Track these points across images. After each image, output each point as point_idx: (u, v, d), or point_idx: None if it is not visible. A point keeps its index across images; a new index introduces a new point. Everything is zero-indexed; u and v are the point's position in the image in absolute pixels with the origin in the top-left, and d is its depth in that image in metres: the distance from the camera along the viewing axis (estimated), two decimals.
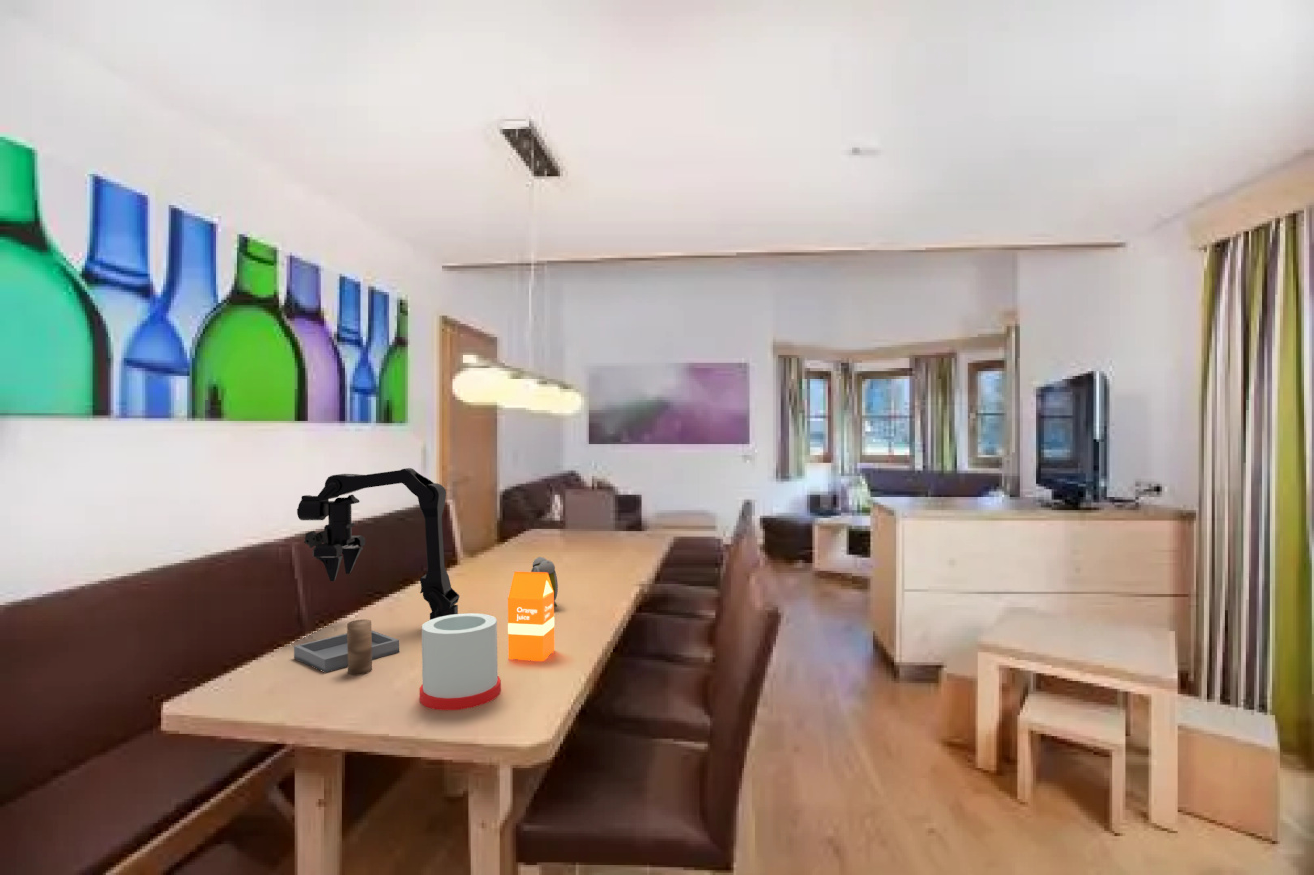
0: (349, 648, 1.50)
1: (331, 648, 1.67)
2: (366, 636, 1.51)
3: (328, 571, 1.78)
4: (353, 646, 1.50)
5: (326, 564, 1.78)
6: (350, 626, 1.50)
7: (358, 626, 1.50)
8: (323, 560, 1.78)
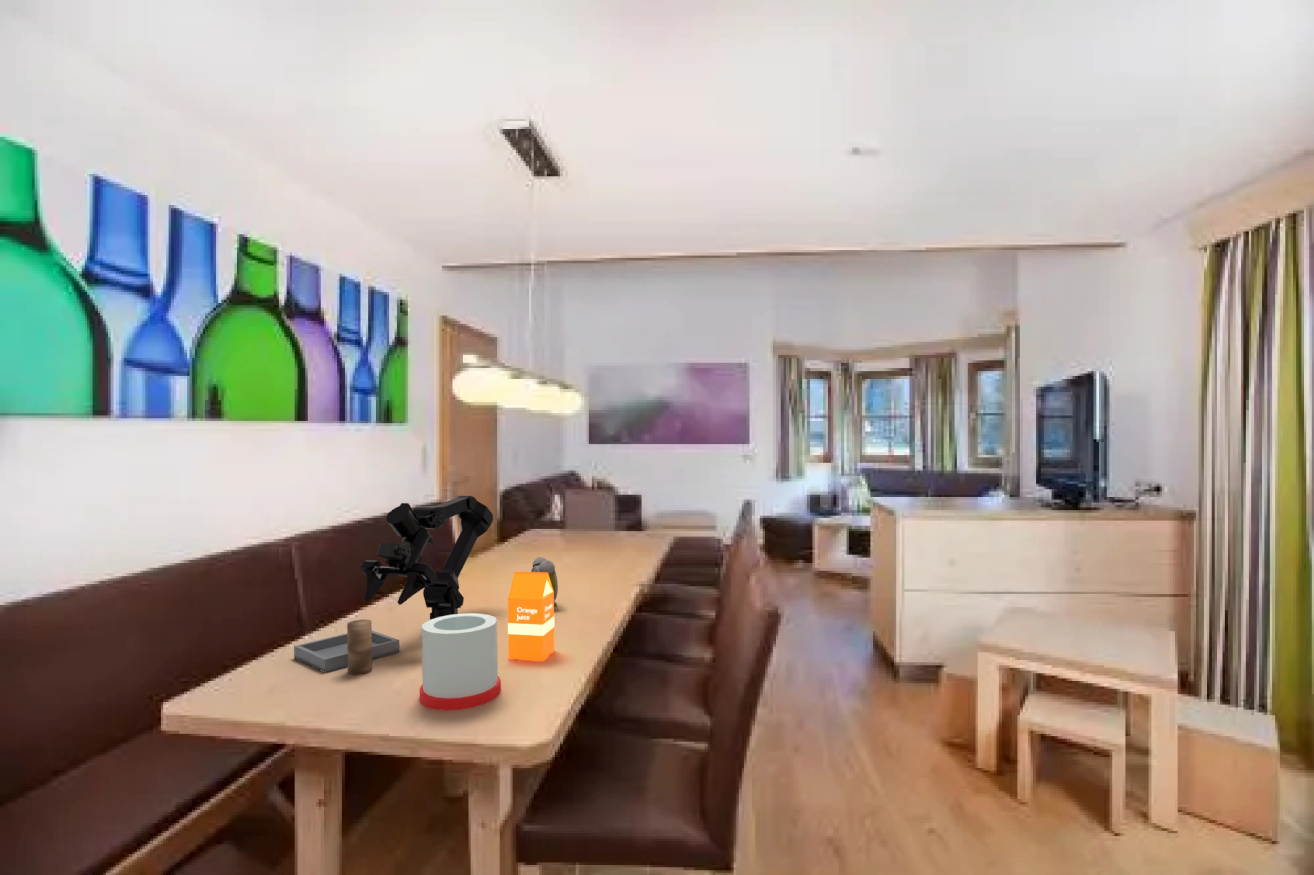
0: (349, 648, 1.50)
1: (331, 648, 1.67)
2: (366, 636, 1.51)
3: (406, 592, 1.60)
4: (353, 646, 1.50)
5: (411, 584, 1.61)
6: (350, 626, 1.50)
7: (358, 626, 1.50)
8: (414, 579, 1.61)
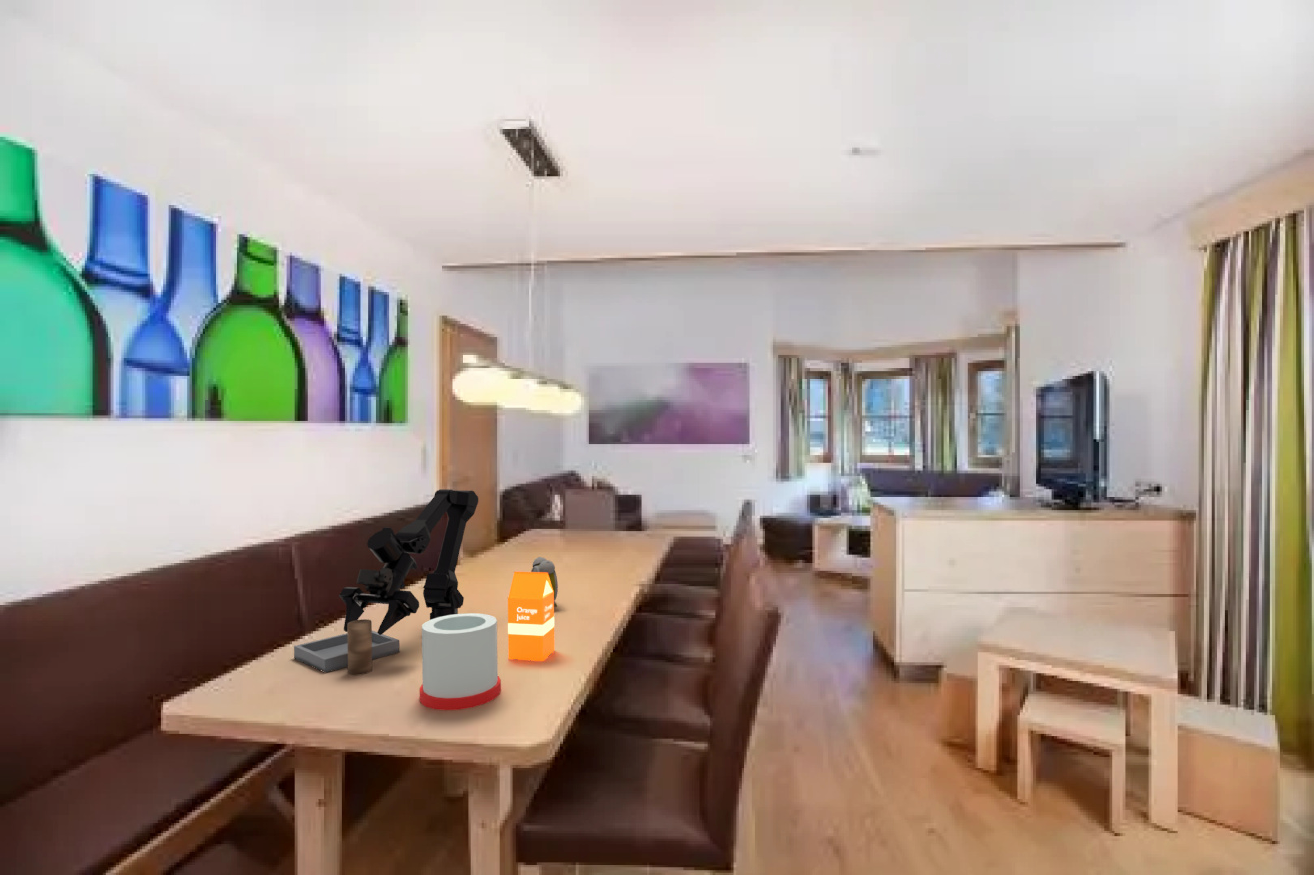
0: (349, 648, 1.50)
1: (331, 648, 1.67)
2: (366, 636, 1.51)
3: (387, 621, 1.53)
4: (353, 646, 1.50)
5: (392, 613, 1.54)
6: (350, 626, 1.50)
7: (358, 626, 1.50)
8: (395, 608, 1.54)
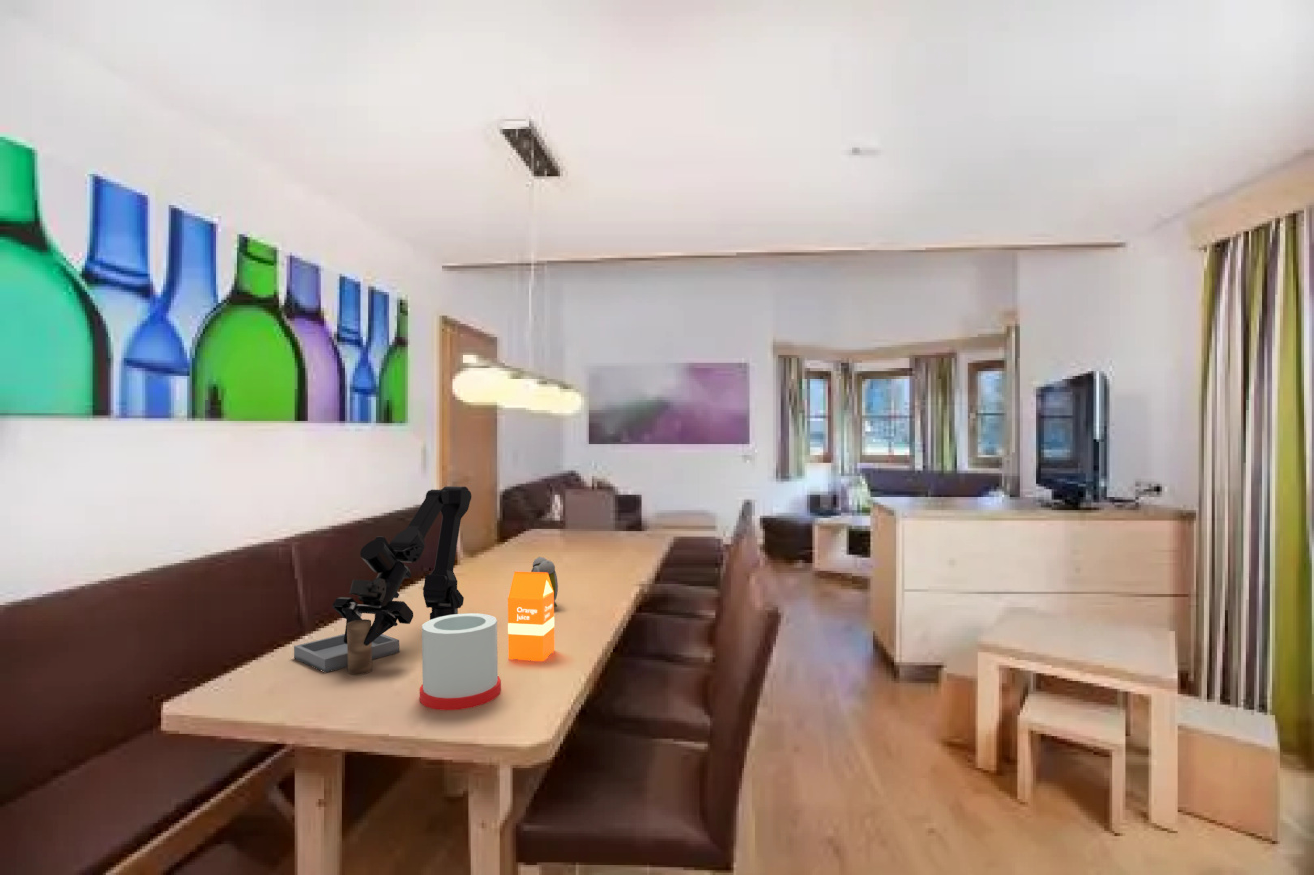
0: (349, 648, 1.50)
1: (331, 648, 1.67)
2: None
3: (373, 632, 1.52)
4: (353, 646, 1.50)
5: (378, 624, 1.53)
6: (350, 626, 1.50)
7: (358, 626, 1.50)
8: (381, 618, 1.53)
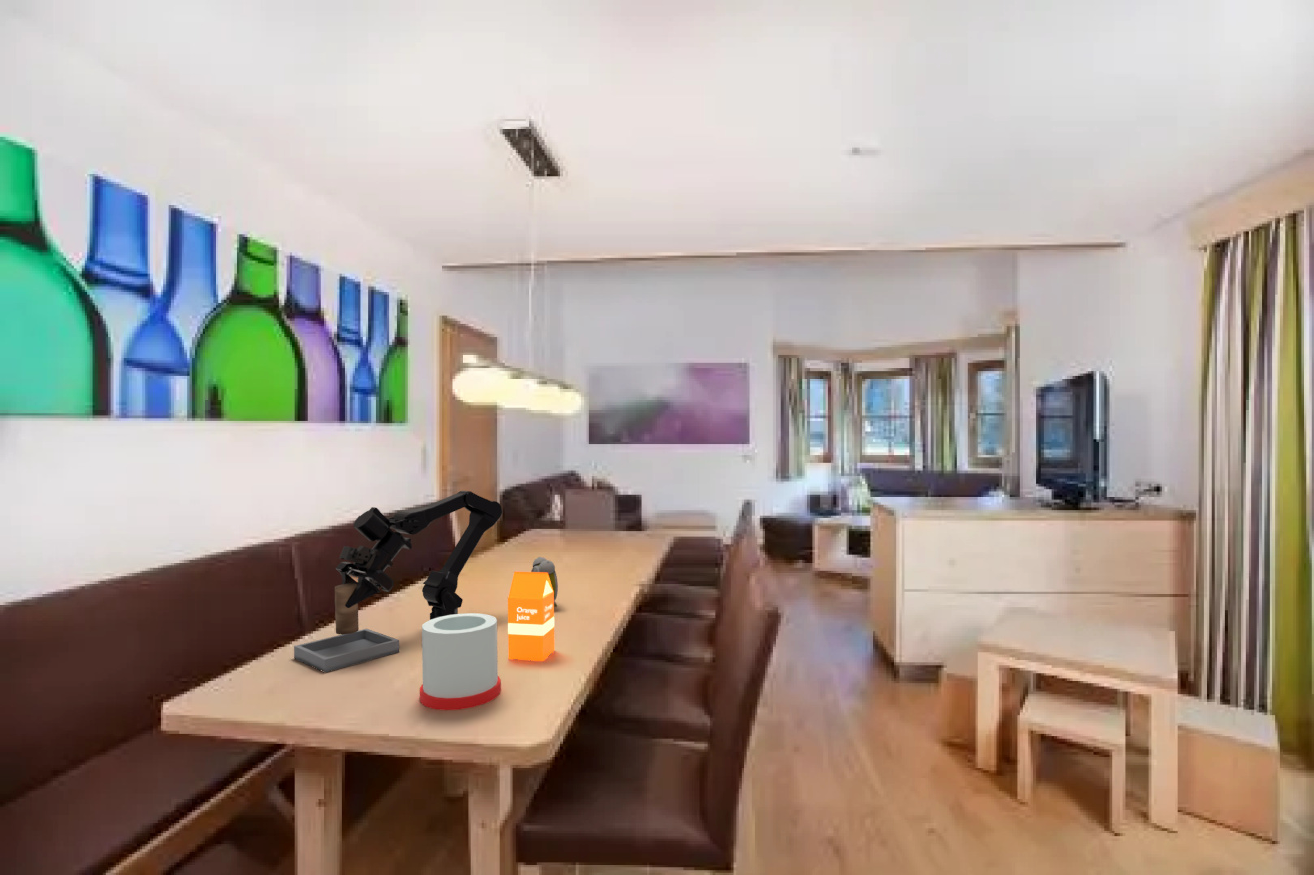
0: (335, 609, 1.62)
1: (331, 648, 1.67)
2: None
3: (354, 596, 1.61)
4: (337, 607, 1.61)
5: (360, 589, 1.62)
6: (335, 588, 1.62)
7: (340, 589, 1.61)
8: (363, 584, 1.62)
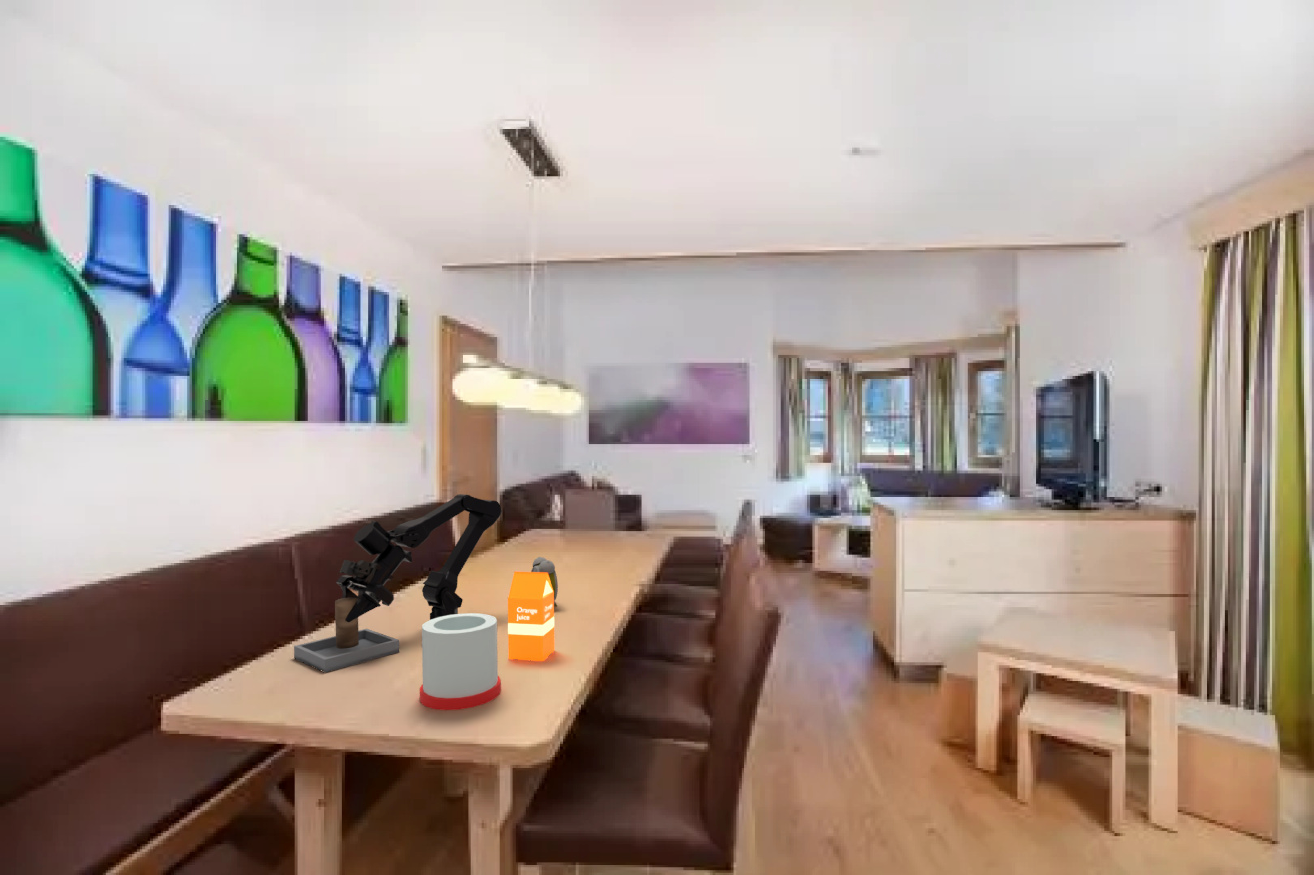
0: None
1: (331, 648, 1.67)
2: (348, 613, 1.61)
3: (355, 610, 1.61)
4: (337, 621, 1.61)
5: (360, 603, 1.62)
6: (335, 602, 1.62)
7: (341, 603, 1.61)
8: (363, 598, 1.62)
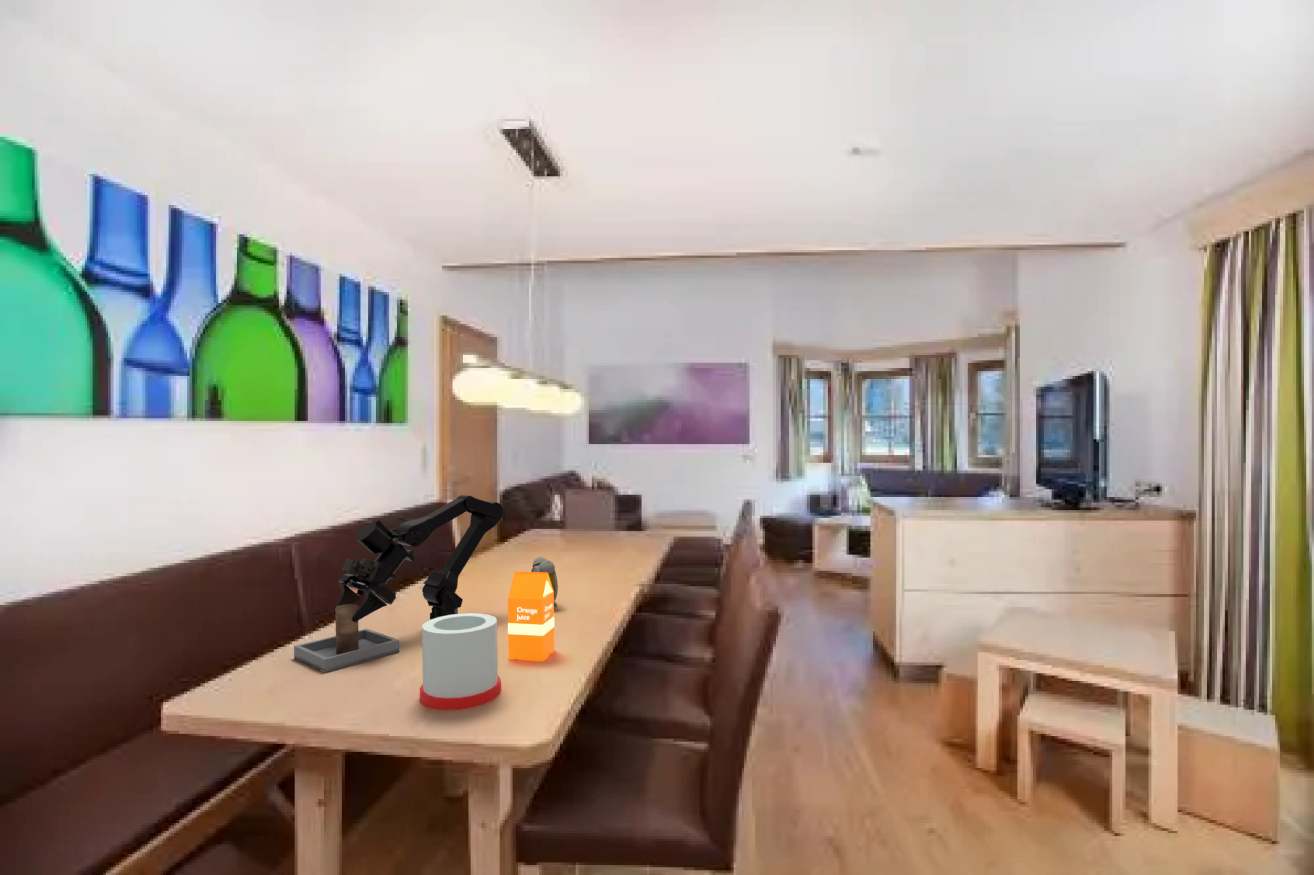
0: (336, 629, 1.62)
1: (331, 648, 1.67)
2: (349, 620, 1.62)
3: (361, 610, 1.61)
4: (337, 628, 1.61)
5: (366, 603, 1.61)
6: (336, 609, 1.62)
7: (341, 610, 1.61)
8: (369, 598, 1.61)
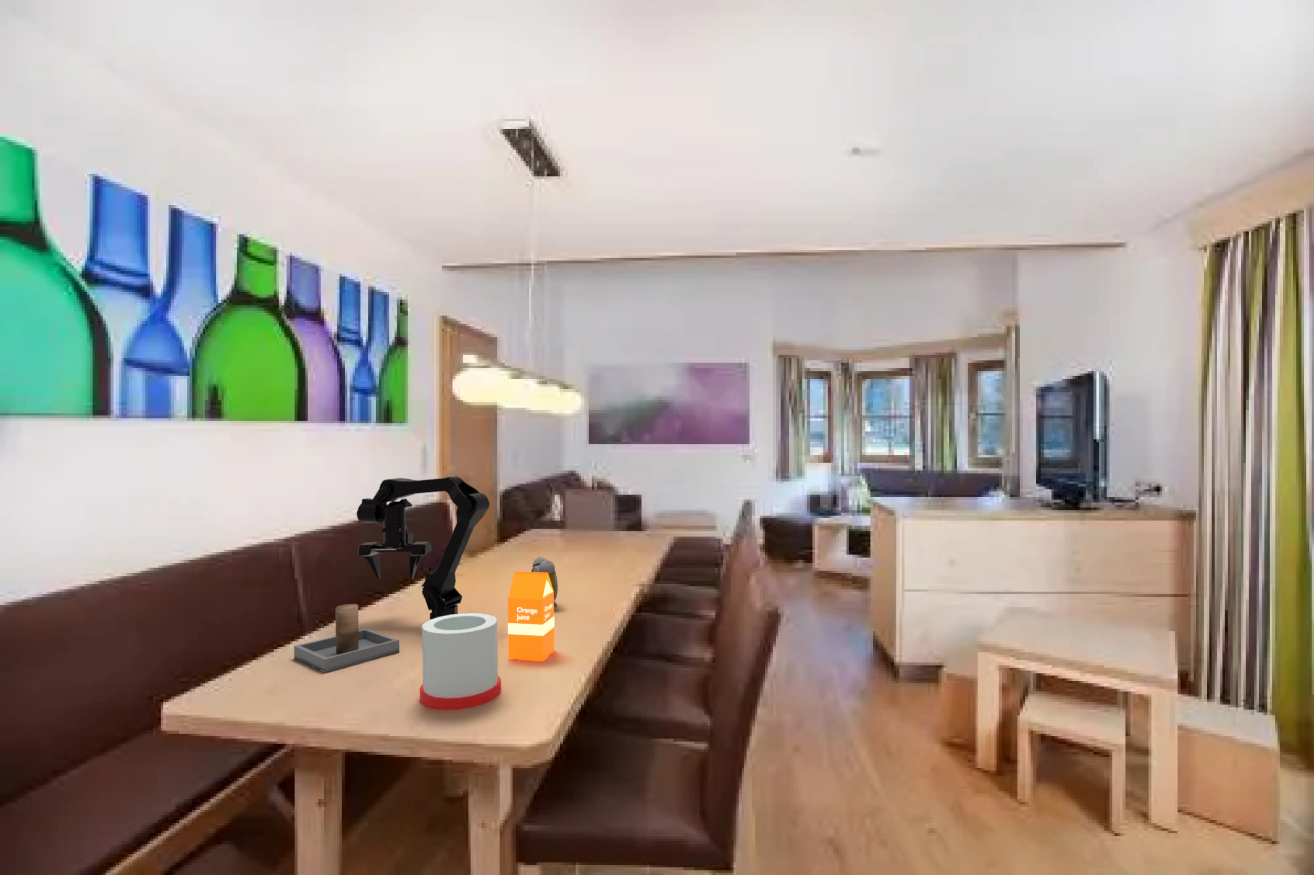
0: (336, 629, 1.62)
1: (331, 648, 1.67)
2: (349, 620, 1.62)
3: None
4: (337, 628, 1.61)
5: None
6: (336, 609, 1.62)
7: (341, 610, 1.61)
8: None
